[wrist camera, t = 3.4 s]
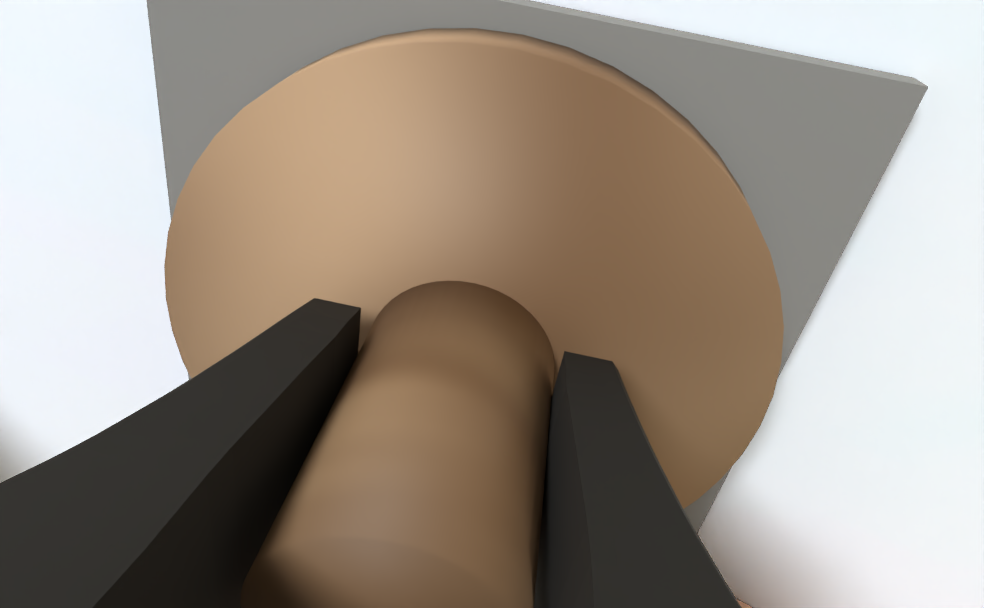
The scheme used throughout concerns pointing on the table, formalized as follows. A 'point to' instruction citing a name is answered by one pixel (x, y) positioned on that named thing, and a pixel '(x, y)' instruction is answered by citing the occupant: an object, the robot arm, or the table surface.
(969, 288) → the table surface
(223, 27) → the mat
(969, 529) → the table surface
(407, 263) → the lid
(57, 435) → the table surface
